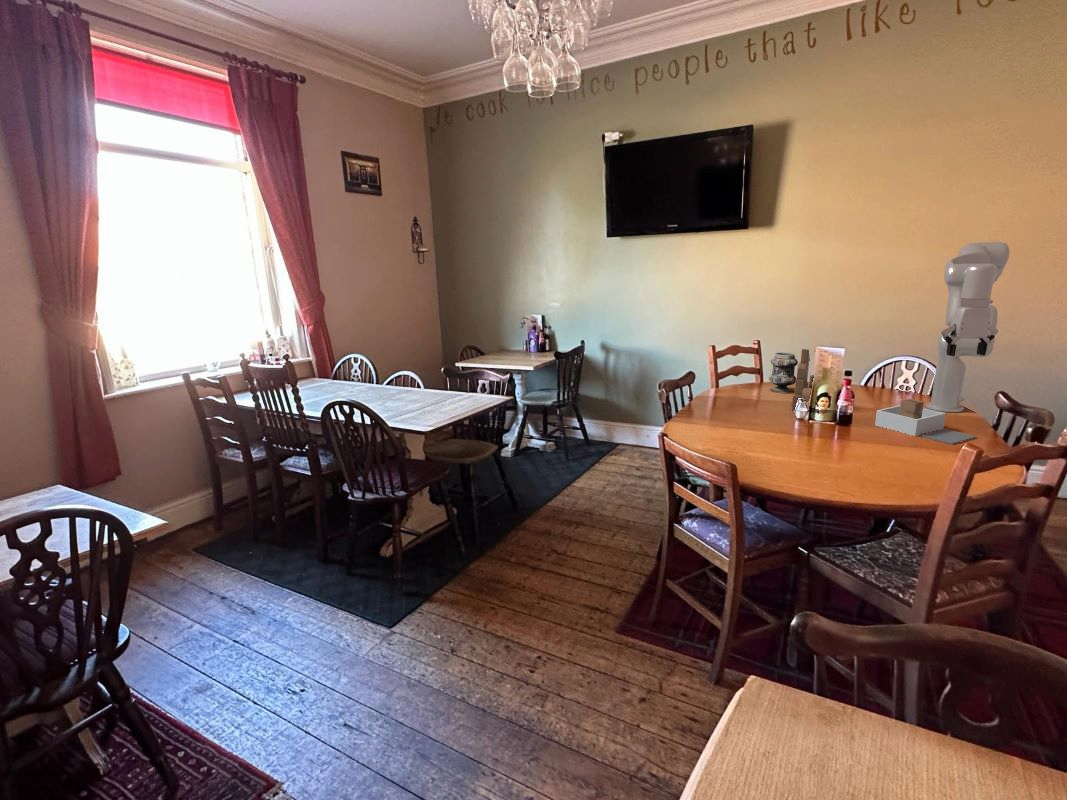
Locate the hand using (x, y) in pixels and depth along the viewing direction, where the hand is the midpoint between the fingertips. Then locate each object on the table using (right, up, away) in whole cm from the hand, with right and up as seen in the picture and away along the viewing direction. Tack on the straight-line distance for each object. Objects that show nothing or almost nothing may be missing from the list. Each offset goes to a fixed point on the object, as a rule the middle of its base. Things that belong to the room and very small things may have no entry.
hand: (965, 355), depth 182 cm
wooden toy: (-30, -18, +49) cm, 61 cm away
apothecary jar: (-26, -11, +77) cm, 83 cm away
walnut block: (-6, -23, +19) cm, 31 cm away
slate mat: (0, -28, +7) cm, 29 cm away
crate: (-6, -25, +19) cm, 32 cm away
